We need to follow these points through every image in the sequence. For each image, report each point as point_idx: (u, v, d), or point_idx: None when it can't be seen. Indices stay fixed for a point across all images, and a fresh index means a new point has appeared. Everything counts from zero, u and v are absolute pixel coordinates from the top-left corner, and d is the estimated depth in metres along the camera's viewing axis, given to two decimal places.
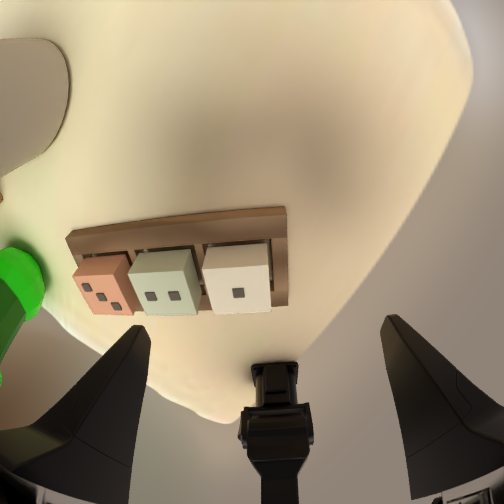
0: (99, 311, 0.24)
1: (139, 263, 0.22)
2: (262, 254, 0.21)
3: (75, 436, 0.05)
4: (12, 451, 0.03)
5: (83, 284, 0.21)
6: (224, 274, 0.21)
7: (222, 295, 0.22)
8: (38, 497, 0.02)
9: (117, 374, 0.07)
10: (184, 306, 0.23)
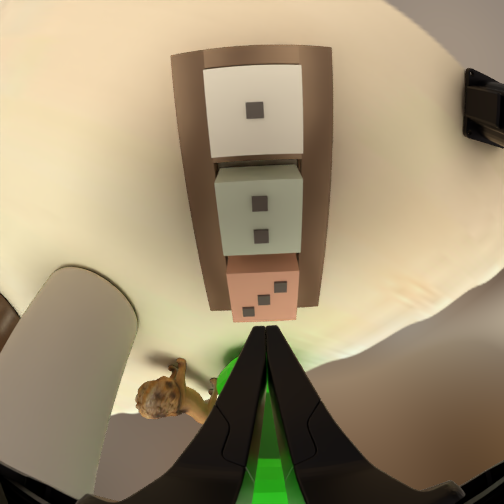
0: (291, 311, 0.21)
1: None
2: None
3: (241, 467, 0.04)
4: None
5: (243, 314, 0.21)
6: (219, 127, 0.13)
7: (262, 134, 0.13)
8: None
9: (261, 383, 0.07)
10: (283, 193, 0.15)
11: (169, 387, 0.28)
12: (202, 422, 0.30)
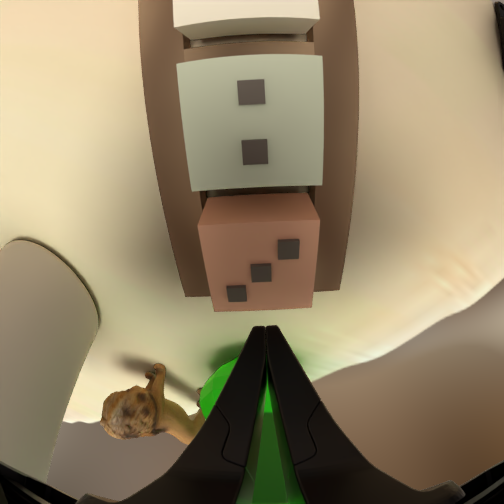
0: (305, 293, 0.13)
1: None
2: None
3: (241, 467, 0.04)
4: None
5: (228, 297, 0.13)
6: None
7: None
8: None
9: (261, 383, 0.07)
10: (291, 77, 0.08)
11: (141, 401, 0.20)
12: (187, 443, 0.23)
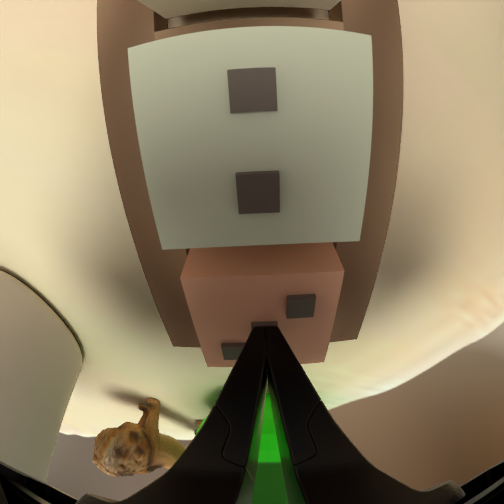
0: (318, 349, 0.10)
1: None
2: None
3: (242, 467, 0.04)
4: None
5: (224, 355, 0.10)
6: None
7: None
8: None
9: (261, 383, 0.07)
10: (321, 66, 0.04)
11: (134, 440, 0.17)
12: None
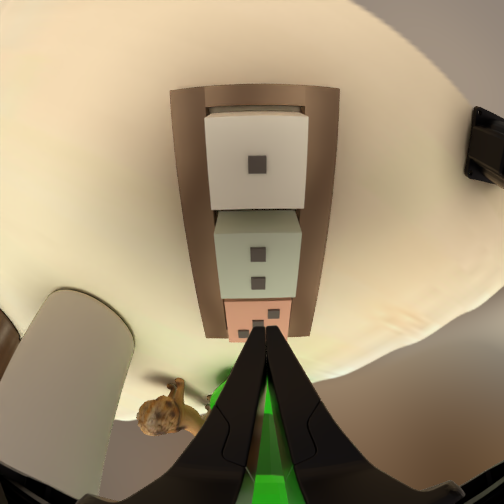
0: (283, 334, 0.22)
1: None
2: None
3: (241, 467, 0.04)
4: None
5: (238, 335, 0.22)
6: (219, 180, 0.14)
7: (263, 189, 0.14)
8: None
9: (261, 383, 0.07)
10: (281, 245, 0.16)
11: (168, 407, 0.28)
12: None
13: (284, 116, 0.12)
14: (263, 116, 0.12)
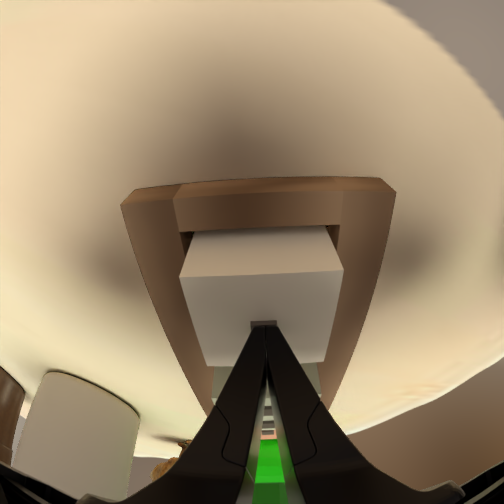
0: None
1: None
2: None
3: (242, 467, 0.04)
4: None
5: None
6: (214, 344, 0.10)
7: None
8: None
9: (261, 383, 0.07)
10: None
11: None
12: None
13: (306, 271, 0.08)
14: (272, 274, 0.08)
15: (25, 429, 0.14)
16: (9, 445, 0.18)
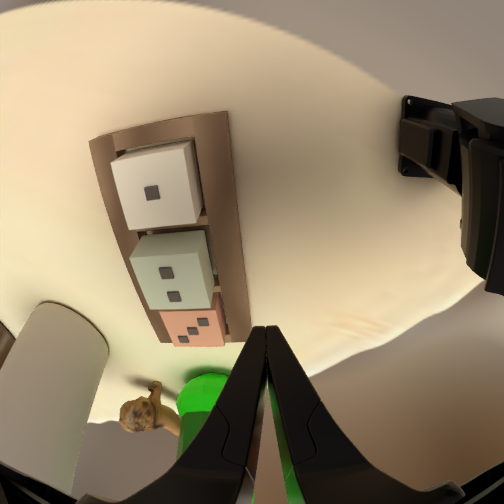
0: (218, 340, 0.24)
1: None
2: None
3: (242, 467, 0.04)
4: None
5: (179, 340, 0.24)
6: (129, 208, 0.17)
7: (161, 211, 0.17)
8: None
9: (261, 383, 0.07)
10: (183, 265, 0.18)
11: (145, 406, 0.31)
12: (178, 435, 0.33)
13: (165, 151, 0.15)
14: (149, 155, 0.15)
15: (12, 347, 0.20)
16: None
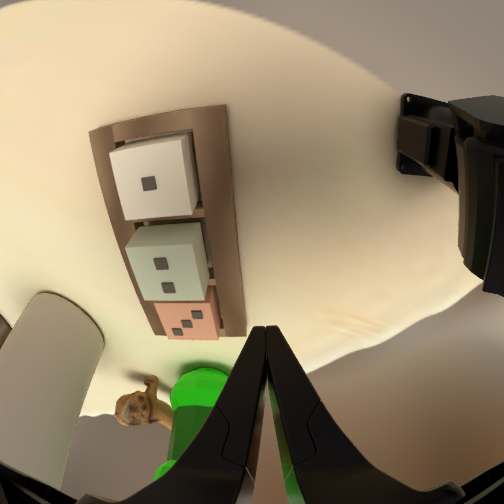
0: (212, 333, 0.24)
1: None
2: None
3: (242, 467, 0.04)
4: None
5: (173, 333, 0.24)
6: (126, 198, 0.17)
7: (157, 201, 0.17)
8: None
9: (261, 383, 0.07)
10: (178, 256, 0.18)
11: (141, 401, 0.31)
12: None
13: (162, 143, 0.15)
14: (147, 146, 0.15)
15: (8, 336, 0.20)
16: None
